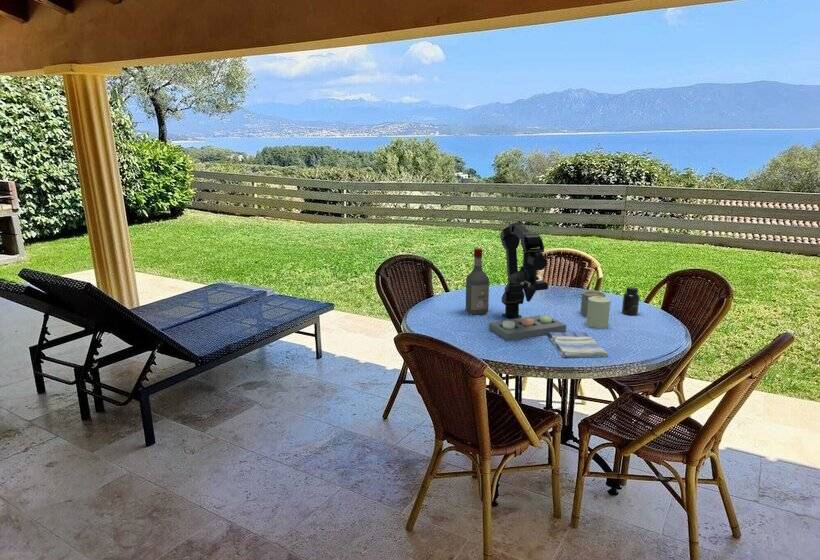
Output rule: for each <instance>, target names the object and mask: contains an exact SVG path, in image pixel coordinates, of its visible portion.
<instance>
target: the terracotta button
mask: <svg viewBox="0 0 820 560" xmlns="http://www.w3.org/2000/svg"><path fill="white" fill-rule="evenodd" d="M521 318H522V319H521V325H522V326H524V327H529V326H533V324H534V320H533V319H531V318H525V317H521Z"/></svg>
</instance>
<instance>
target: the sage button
mask: <svg viewBox="0 0 820 560" xmlns="http://www.w3.org/2000/svg"><path fill="white" fill-rule="evenodd" d="M541 315H542V316H540V323H542V324H549V323H552V318H553V317H552V316H551V315H547V314H541Z"/></svg>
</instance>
